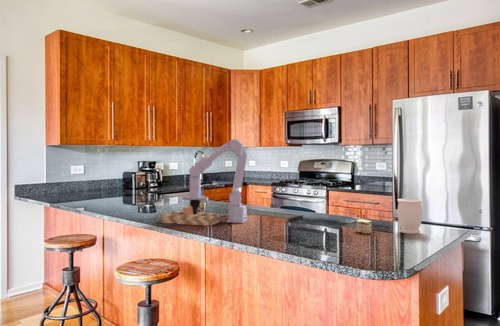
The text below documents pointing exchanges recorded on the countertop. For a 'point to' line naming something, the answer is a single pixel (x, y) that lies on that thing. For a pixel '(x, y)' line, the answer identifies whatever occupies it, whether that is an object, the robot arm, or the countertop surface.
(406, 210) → the jar
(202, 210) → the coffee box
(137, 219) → the countertop surface
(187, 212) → the terracotta block
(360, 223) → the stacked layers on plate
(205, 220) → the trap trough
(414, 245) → the countertop surface
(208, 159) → the robot arm
